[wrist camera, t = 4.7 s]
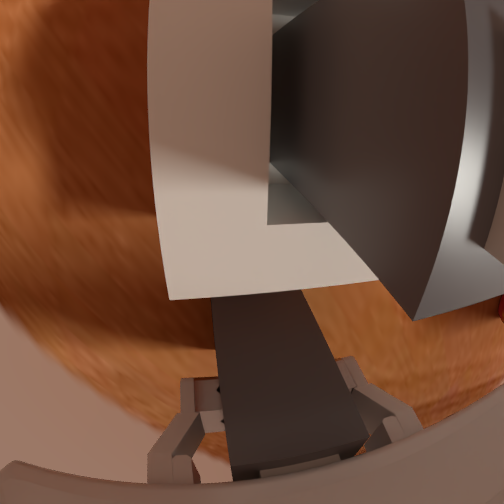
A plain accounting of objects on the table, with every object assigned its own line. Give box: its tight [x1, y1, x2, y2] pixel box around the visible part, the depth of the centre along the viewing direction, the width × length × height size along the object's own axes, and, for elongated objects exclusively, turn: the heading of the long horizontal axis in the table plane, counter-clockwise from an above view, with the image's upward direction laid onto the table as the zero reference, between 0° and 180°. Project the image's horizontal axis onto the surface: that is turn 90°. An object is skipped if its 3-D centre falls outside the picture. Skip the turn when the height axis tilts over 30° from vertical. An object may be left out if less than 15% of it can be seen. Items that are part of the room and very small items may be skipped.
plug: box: [211, 289, 370, 481], centre depth 11 cm, size 4×4×8 cm
